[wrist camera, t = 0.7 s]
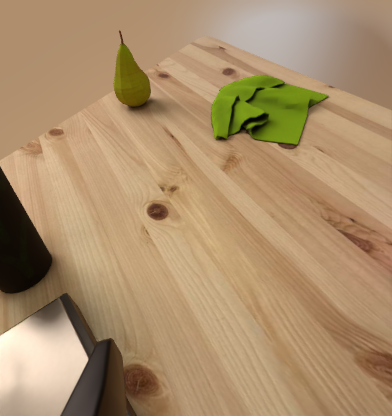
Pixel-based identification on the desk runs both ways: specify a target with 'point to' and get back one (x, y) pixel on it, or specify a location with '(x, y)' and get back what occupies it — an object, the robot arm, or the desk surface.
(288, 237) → the desk surface
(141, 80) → the fruit
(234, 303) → the desk surface
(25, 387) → the scale
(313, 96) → the cloth
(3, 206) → the cup
